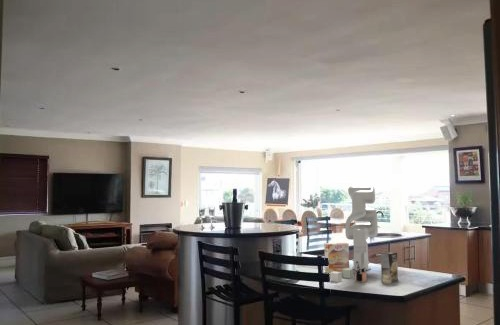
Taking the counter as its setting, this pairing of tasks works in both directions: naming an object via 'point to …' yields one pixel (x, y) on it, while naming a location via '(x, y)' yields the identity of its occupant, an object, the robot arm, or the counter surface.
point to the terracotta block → (364, 277)
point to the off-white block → (335, 276)
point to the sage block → (347, 272)
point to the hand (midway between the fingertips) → (361, 279)
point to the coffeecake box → (337, 256)
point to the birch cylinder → (386, 278)
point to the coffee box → (389, 264)
